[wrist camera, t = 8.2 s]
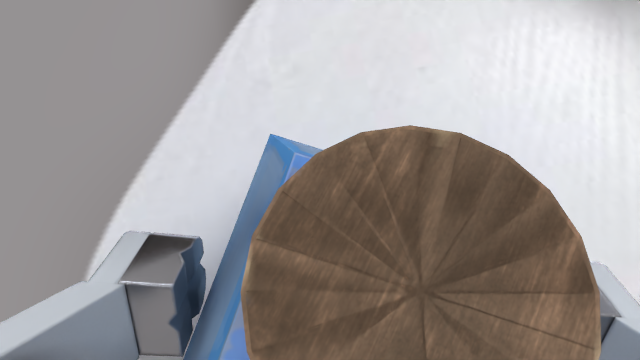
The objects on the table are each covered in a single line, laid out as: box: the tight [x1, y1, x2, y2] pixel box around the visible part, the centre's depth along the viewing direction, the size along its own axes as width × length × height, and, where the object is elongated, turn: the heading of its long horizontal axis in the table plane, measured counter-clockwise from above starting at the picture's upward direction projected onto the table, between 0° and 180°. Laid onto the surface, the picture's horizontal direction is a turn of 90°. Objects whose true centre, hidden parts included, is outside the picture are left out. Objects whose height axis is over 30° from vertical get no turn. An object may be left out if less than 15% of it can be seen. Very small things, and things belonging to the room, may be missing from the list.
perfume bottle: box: [183, 125, 601, 360], centre depth 10 cm, size 6×6×12 cm
